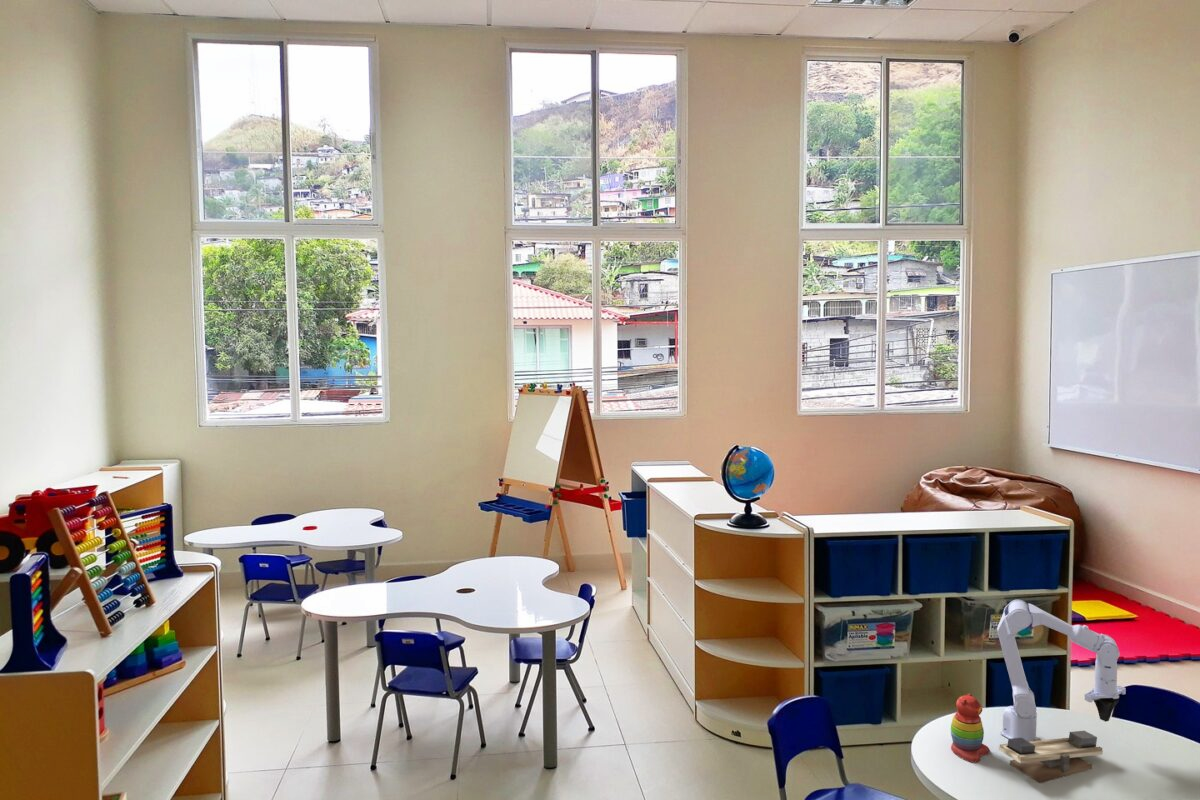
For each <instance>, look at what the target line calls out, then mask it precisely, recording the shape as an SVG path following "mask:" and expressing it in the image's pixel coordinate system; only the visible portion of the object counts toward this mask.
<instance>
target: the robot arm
mask: <svg viewBox="0 0 1200 800" xmlns="http://www.w3.org/2000/svg"><path fill="white" fill-rule="evenodd" d="M1030 625H1031V627H1032V628H1033V627H1036V626H1041V625H1043V626H1044V627H1047V628H1048V629H1049V628H1050V629H1052V630H1054V631H1057V632H1059V633H1061V634H1063V635H1066V636H1068V638H1069V640H1070V642H1071V643H1074V644H1075V645H1078V646H1080V647H1082V648H1084V649H1086V650H1088V651H1090V652H1093V653H1096V656H1095V657H1096V658H1095V665H1094V667H1095V668H1094V688H1092V689H1091V690H1090V691H1088V692H1086V693H1084V701H1086V702H1087V703H1094V704H1095V707H1096V709H1097V711H1098V717H1099V720H1101V721H1104V722H1106V723H1107V722H1109V721H1110V719H1111V716H1112V713H1113V710H1114V709H1115V707H1116V706H1117V704H1118V703H1119V699H1120V695H1126V691H1127V690H1126V687H1124V686H1123V685H1117V683H1118V680H1117V679H1118V663H1117V662H1118V659H1119V657H1120V656H1121V655H1120V654H1121V652H1120V650H1119V647H1118V645H1117V643H1116V641H1115V640H1114V638H1112V637H1111V636H1110V635H1108V634H1103V633H1098V632H1096V631H1093V630H1091V629H1089V626H1088V625H1085V624H1083V625H1082V624H1074V625H1071V624H1070V623H1068V622H1066V621H1064V620H1062V619H1061V618H1059V617H1057V616H1055V615H1053V614H1051V613H1049V612H1047V611H1045V610H1043V609H1041V608H1039V607H1038V606H1036V605H1034V604H1032V603H1027V602H1026V601H1025V600H1022V599H1014V600H1011V601H1010V602H1009V603H1008V604H1007V605H1005V607H1004V609H1003V613H1002V616H1001V618H1000V620H999V622H998V625H997V628H996V629H997V635H998V639H999V643H1000V648H1001V651H1002V654H1003V658H1004V662H1005V665H1006V669H1007V672H1008V676H1009V677H1008V678H1009V681H1010V684H1011V689H1012V699H1013V705H1009V706H1007V707H1005V708H1004V711H1003V714H1002V731H1001V732H1000V735H1001V736H1003V737H1005V738H1007V739H1012V738H1023V739H1025V740H1026V741H1028V742H1030V741H1034V739H1037V738H1038V737H1037V722H1038V721H1037V717H1038V713H1037V707H1036V702H1035V693H1034V692H1033V691H1032V690H1031V688H1030V687H1029V683H1028V681H1027V677H1026V674H1025V671H1024V667H1023V663H1022V659H1021V656H1020V655H1021V654H1020V652H1019V648H1018V645H1017V641H1016V637H1015V636H1016V635H1017V634H1018V633H1019V632H1020V631H1022V630H1025V629H1026V628H1028V627H1030Z"/></svg>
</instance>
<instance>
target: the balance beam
mask: <svg viewBox="0 0 1200 800" xmlns="http://www.w3.org/2000/svg"><path fill="white" fill-rule="evenodd" d="M1068 741H1069V737H1063V738H1053V739H1051V738H1050V739H1041V740H1040V741H1030V743H1032V744H1033V745H1035V751H1034V754H1025V755H1019V754H1018V753H1016V752H1014V751H1013V750H1011V749H1009V748H1008V747H1007V746H1008V743H1001V744H999V746H998V751H1000V752H1001V753H1002V754H1004V755H1006V756H1008V757H1010V758H1011V759H1012V760H1016V761H1018V762H1019V763H1028V762H1037V761H1046V760H1055V759H1061V755H1063V754H1068V755H1069V756H1070V758H1074V757H1079V758H1083V757H1091V756H1092V757H1093V756H1101V755H1103V752H1104V750H1103V747H1101V746H1096V747H1092V748H1082V749H1078V748H1076V747H1074V746H1073V745H1071V744H1069V743H1068Z"/></svg>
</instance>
